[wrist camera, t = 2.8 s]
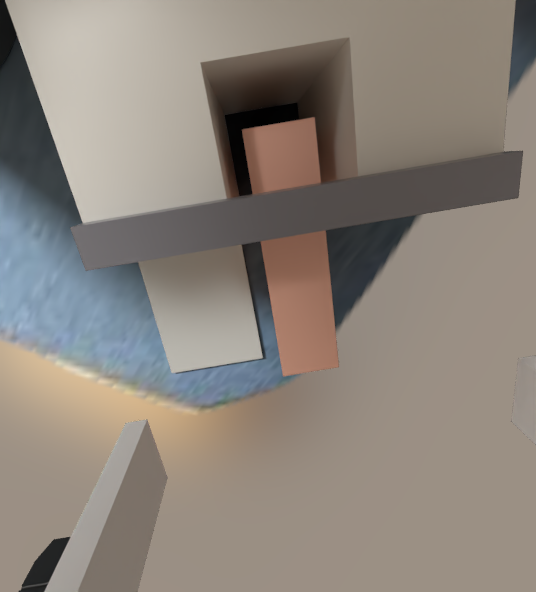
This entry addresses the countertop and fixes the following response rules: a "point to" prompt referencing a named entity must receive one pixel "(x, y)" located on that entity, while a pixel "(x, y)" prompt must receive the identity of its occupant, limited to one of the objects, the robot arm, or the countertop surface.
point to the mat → (203, 308)
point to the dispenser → (262, 94)
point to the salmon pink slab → (294, 249)
